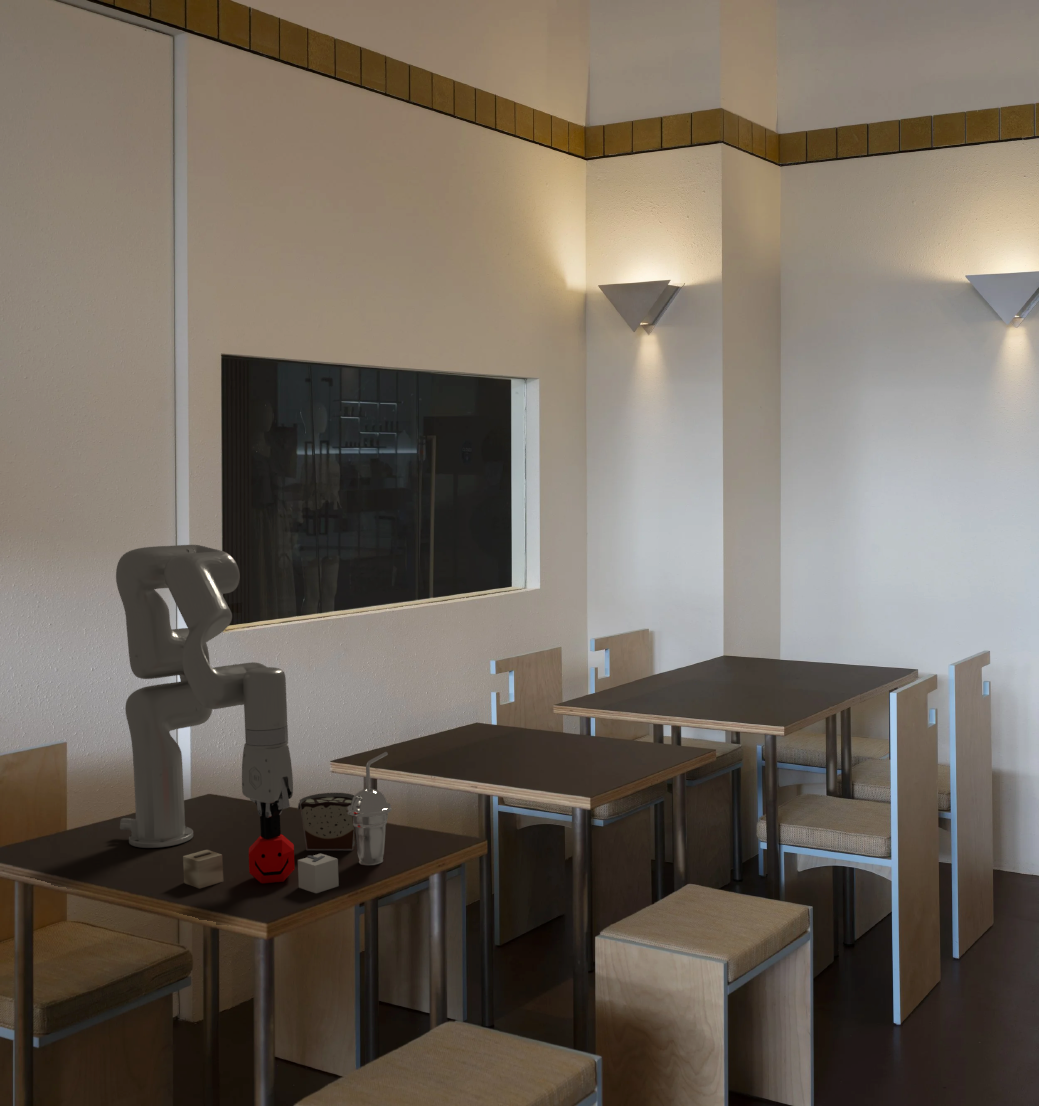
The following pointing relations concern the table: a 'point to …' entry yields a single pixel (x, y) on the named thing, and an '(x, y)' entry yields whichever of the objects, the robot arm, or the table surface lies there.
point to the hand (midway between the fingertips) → (270, 836)
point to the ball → (271, 859)
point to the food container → (327, 821)
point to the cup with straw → (369, 820)
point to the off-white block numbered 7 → (318, 873)
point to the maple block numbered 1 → (203, 868)
